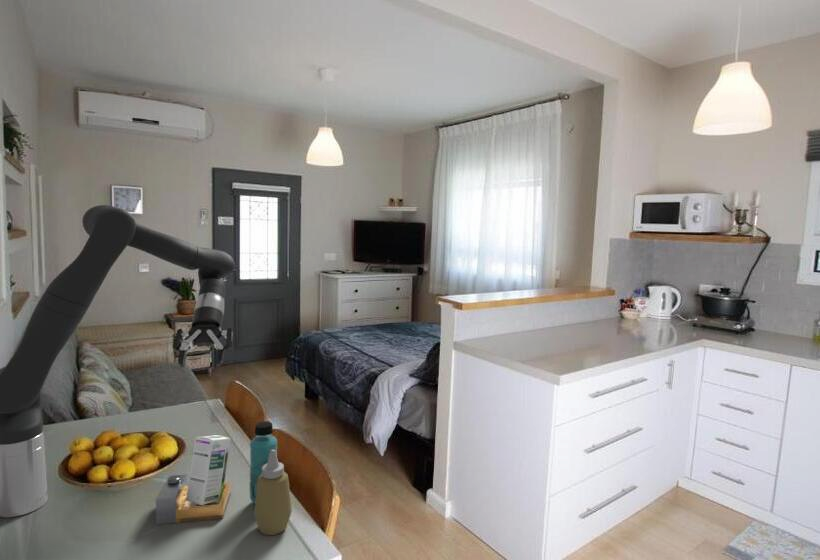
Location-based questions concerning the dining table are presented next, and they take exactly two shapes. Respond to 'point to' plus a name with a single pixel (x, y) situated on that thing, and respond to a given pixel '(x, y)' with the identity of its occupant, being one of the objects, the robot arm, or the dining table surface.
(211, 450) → the syrup box
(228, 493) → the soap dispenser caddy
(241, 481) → the dining table surface
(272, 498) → the squeeze bottle
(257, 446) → the beverage bottle
